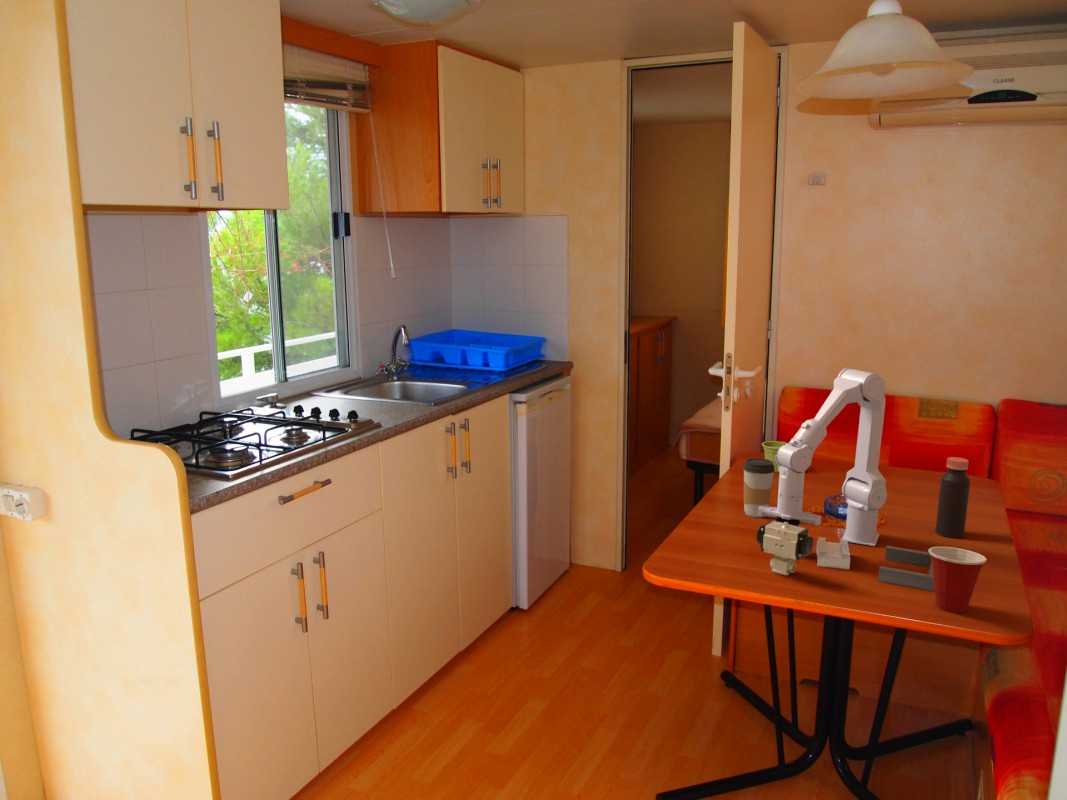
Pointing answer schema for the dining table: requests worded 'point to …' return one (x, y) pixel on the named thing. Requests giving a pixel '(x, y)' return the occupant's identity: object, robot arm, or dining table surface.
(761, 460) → the coffee cup
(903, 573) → the dock
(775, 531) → the pneumatic valve
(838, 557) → the block
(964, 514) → the bottle
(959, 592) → the plastic cup
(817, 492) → the dining table surface
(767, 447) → the plant pot
